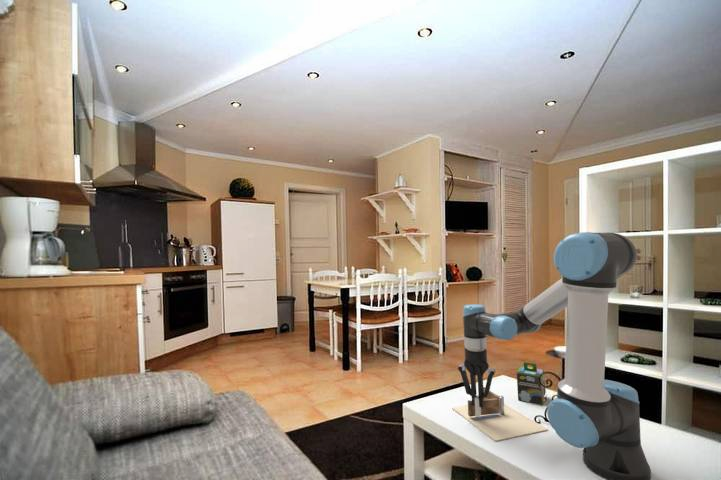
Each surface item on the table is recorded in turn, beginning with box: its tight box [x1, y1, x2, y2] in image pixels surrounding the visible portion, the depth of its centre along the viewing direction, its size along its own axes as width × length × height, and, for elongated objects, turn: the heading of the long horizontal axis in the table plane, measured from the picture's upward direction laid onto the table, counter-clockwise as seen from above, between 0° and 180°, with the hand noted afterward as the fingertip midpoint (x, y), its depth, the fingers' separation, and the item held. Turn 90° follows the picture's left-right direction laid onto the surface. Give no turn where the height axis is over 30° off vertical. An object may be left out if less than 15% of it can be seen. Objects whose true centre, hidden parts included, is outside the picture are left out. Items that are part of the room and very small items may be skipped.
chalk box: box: [516, 361, 547, 406], centre depth 142 cm, size 9×9×15 cm
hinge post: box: [498, 395, 505, 415], centre depth 128 cm, size 2×2×6 cm
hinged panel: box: [467, 398, 499, 417], centre depth 127 cm, size 12×1×5 cm, turn 100°
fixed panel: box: [483, 386, 500, 411], centre depth 134 cm, size 10×1×6 cm, turn 17°
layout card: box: [451, 403, 549, 443], centre depth 126 cm, size 25×21×1 cm
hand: (478, 415), depth 124 cm, fingers closed
